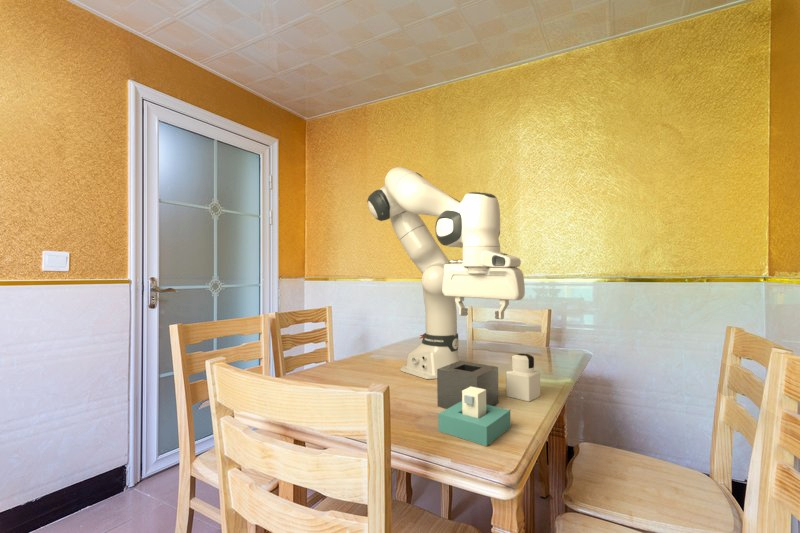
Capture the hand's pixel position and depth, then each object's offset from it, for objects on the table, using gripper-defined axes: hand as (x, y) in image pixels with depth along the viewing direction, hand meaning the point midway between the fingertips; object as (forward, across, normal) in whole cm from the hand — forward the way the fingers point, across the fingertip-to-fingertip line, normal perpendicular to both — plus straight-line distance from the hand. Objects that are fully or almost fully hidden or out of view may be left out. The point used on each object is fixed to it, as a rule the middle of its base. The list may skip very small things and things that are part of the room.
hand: (480, 317), depth 91 cm
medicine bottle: (+26, +1, +25) cm, 36 cm away
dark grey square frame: (+26, -8, +9) cm, 28 cm away
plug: (+25, +1, -4) cm, 26 cm away
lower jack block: (+25, +1, -4) cm, 26 cm away
